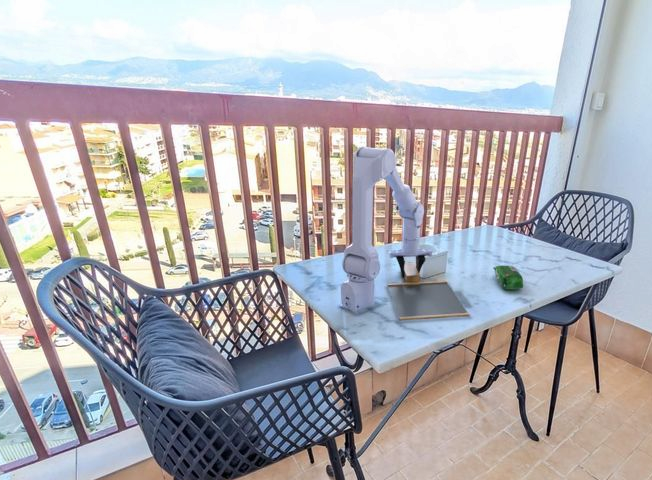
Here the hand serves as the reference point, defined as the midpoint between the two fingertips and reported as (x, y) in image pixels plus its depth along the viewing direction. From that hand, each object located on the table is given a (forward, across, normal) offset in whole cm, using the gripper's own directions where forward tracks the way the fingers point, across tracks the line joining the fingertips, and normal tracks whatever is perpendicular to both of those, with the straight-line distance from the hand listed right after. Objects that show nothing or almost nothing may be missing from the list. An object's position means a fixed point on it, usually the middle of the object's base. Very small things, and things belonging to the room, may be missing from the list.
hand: (410, 276), depth 138 cm
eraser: (+1, 0, 0) cm, 1 cm away
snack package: (+1, -32, +9) cm, 33 cm away
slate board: (+1, -1, +19) cm, 19 cm away
